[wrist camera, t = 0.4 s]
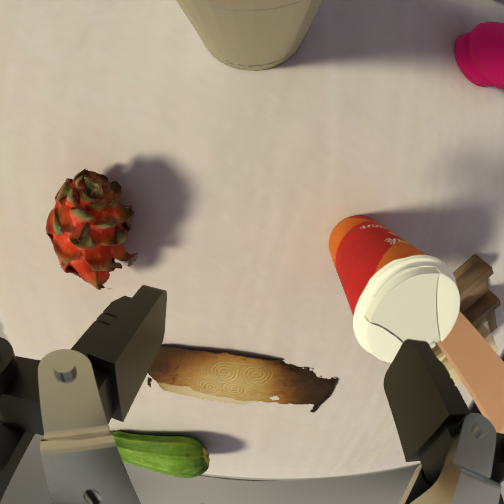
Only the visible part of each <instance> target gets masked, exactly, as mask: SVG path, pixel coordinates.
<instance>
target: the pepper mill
mask: <svg viewBox="0 0 504 504" xmlns="http://www.w3.org/2000/svg"><path fill="white" fill-rule="evenodd" d="M454 51H455V57H456V61H457V64H458V66H459V68H460V70H461V71H462V72H463V74H464V75H465V76H466V78H467V79H468V80H469V81H471V82H472V83H474V84H475V85H478V86H493V85H494V86H496V87H498V88H501V89H504V24H503V23H498V22H486V23H481V24H479V25H477V26H475V28H474V29H473V30H472V32H469V33H466V34H463V35H461V36H459V37H458V38H457V40H456V42H455V49H454Z"/></svg>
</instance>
